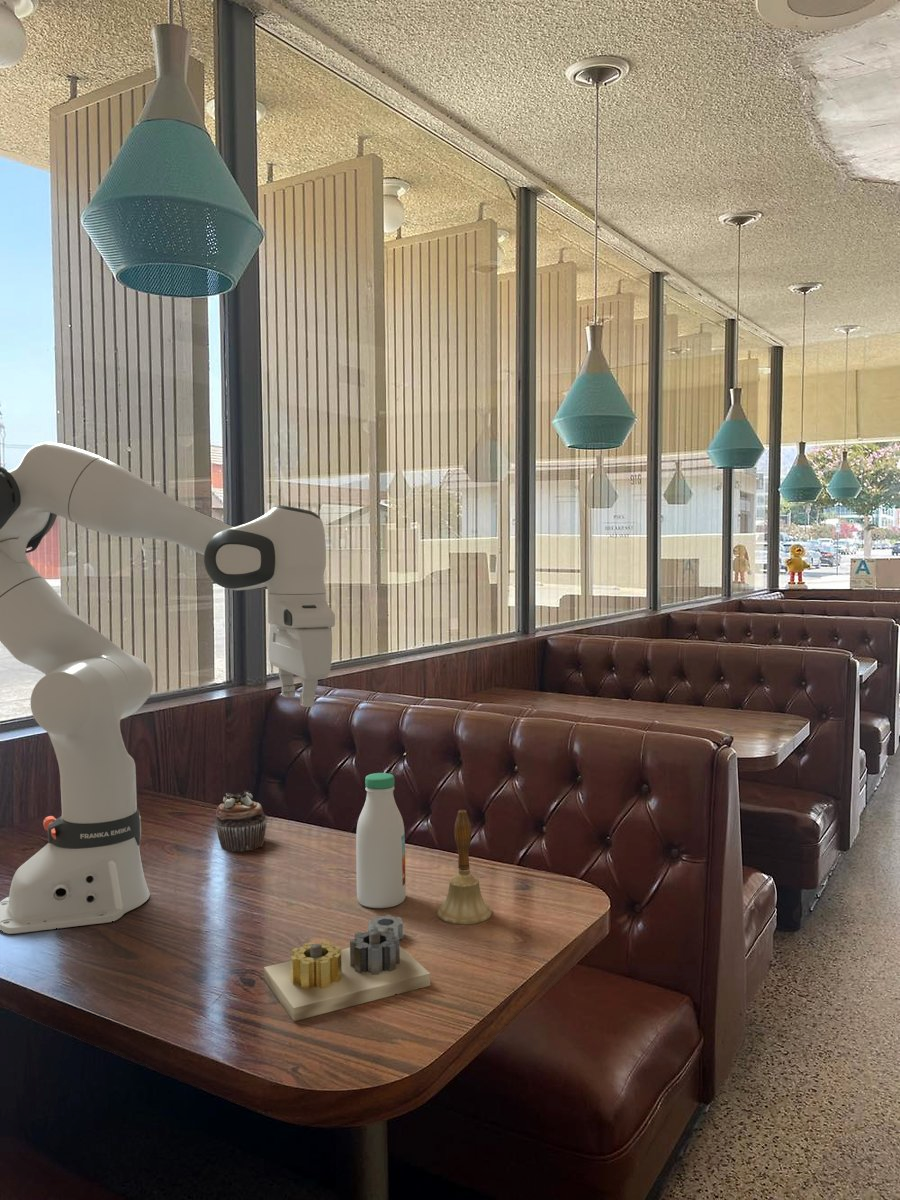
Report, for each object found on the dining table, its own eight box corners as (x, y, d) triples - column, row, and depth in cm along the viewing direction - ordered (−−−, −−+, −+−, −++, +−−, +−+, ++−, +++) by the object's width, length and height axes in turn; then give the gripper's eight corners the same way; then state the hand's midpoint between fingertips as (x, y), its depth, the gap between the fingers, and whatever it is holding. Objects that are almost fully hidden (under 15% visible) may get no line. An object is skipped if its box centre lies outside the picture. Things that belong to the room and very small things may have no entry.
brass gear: (300, 994, 109) (299, 968, 109) (284, 972, 115) (283, 948, 115) (349, 981, 112) (349, 956, 112) (331, 961, 118) (331, 937, 118)
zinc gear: (381, 947, 126) (380, 932, 125) (361, 936, 130) (361, 921, 129) (410, 938, 129) (410, 923, 129) (390, 926, 133) (390, 912, 132)
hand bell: (474, 929, 132) (473, 821, 131) (426, 917, 136) (425, 813, 135) (501, 909, 139) (501, 807, 138) (455, 899, 143) (454, 800, 142)
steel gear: (375, 979, 113) (375, 954, 113) (340, 965, 117) (339, 941, 117) (409, 961, 118) (409, 937, 118) (374, 948, 122) (374, 925, 122)
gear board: (293, 1021, 106) (292, 974, 106) (264, 979, 117) (263, 936, 116) (430, 985, 115) (429, 942, 114) (391, 949, 125) (390, 909, 125)
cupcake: (224, 856, 164) (223, 802, 164) (210, 842, 173) (208, 790, 172) (274, 847, 169) (273, 794, 168) (258, 833, 177) (257, 783, 177)
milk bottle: (398, 911, 138) (397, 782, 137) (350, 907, 140) (348, 780, 139) (410, 892, 146) (409, 770, 145) (365, 889, 147) (363, 768, 146)
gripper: (258, 608, 146) (259, 693, 147) (297, 617, 128) (297, 713, 129) (296, 607, 149) (296, 690, 150) (339, 615, 131) (339, 710, 132)
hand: (297, 701), depth 139 cm, fingers open, 8 cm apart
